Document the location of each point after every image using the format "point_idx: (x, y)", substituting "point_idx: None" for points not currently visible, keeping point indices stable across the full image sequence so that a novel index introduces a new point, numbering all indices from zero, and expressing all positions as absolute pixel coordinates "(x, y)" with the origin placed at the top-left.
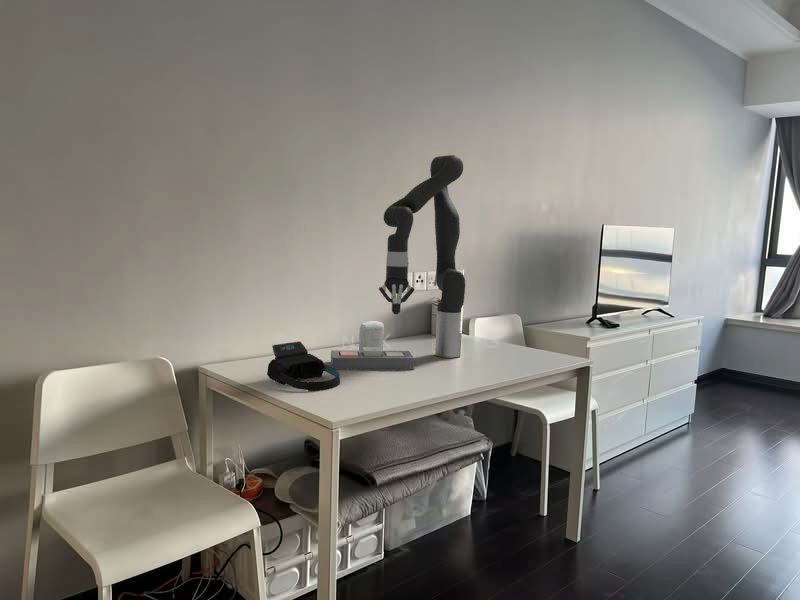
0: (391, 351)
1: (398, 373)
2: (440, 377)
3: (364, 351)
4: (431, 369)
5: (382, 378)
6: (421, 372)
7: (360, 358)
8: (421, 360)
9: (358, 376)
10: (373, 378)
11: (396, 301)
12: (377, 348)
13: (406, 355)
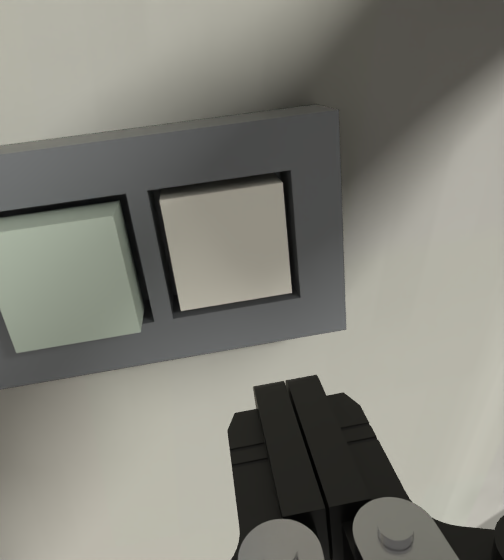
0: (206, 152)
1: (242, 383)
2: (423, 410)
3: (17, 349)
4: (418, 278)
5: (169, 473)
6: (356, 345)
7: (14, 384)
8: (410, 44)
9: (54, 466)
10: (128, 481)
11: (354, 548)
12: (99, 255)
13: (306, 266)
